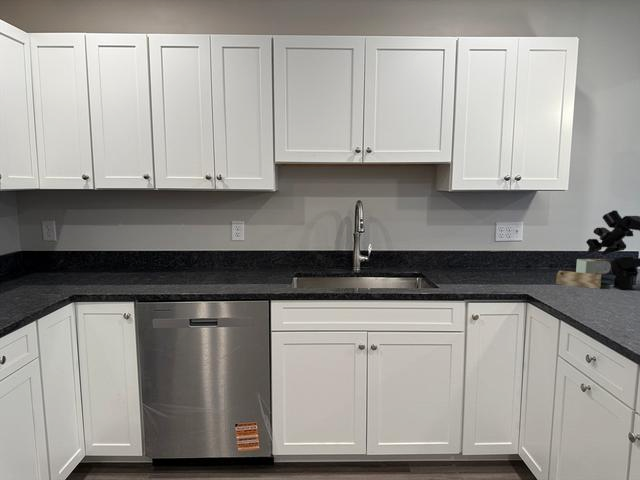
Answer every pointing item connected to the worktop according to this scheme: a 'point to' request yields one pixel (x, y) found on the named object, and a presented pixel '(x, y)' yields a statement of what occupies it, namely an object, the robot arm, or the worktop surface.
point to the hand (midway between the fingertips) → (595, 254)
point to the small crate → (586, 266)
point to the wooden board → (578, 279)
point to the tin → (602, 266)
